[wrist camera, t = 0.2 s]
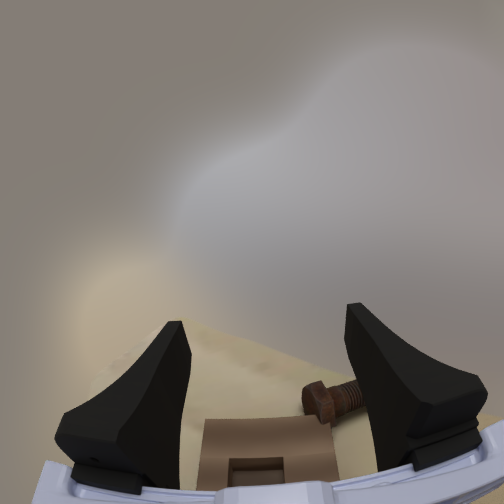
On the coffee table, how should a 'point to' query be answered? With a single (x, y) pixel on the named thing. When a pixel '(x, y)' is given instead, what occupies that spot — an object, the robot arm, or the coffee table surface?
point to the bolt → (331, 400)
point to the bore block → (265, 452)
